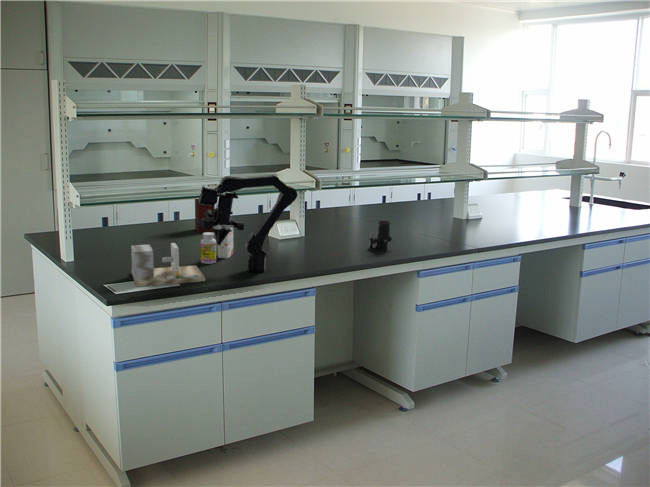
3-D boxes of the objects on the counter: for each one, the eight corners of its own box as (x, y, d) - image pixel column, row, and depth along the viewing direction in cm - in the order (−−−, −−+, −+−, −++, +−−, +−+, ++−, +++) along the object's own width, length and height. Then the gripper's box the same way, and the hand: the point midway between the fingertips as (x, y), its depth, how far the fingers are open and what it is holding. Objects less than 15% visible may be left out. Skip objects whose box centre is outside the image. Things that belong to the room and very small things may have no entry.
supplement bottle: (197, 262, 281) (197, 233, 278) (208, 259, 286) (207, 231, 283) (208, 265, 277) (208, 235, 274) (219, 262, 282) (219, 233, 279)
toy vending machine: (211, 227, 352) (210, 176, 346) (215, 231, 342) (214, 179, 336) (194, 228, 349) (193, 176, 343) (198, 232, 339) (197, 179, 332)
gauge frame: (195, 268, 270) (195, 239, 268) (205, 281, 253) (204, 250, 250) (131, 273, 261) (130, 243, 258) (136, 286, 244) (135, 254, 241)
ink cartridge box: (223, 253, 297) (223, 222, 294) (233, 254, 297) (233, 222, 293) (217, 257, 289) (216, 225, 286) (227, 258, 288) (227, 226, 285)
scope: (370, 220, 314) (390, 220, 316) (368, 247, 317) (388, 247, 319) (374, 223, 306) (394, 223, 308) (372, 251, 309) (393, 251, 311)
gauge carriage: (175, 269, 262) (174, 242, 260) (181, 278, 250) (180, 250, 248) (161, 270, 260) (160, 243, 258) (166, 279, 248) (165, 251, 245)
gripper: (234, 204, 273) (228, 240, 276) (194, 201, 261) (188, 239, 264) (248, 210, 265) (241, 247, 268) (207, 207, 253) (201, 246, 256)
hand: (218, 244), depth 264 cm, fingers closed
